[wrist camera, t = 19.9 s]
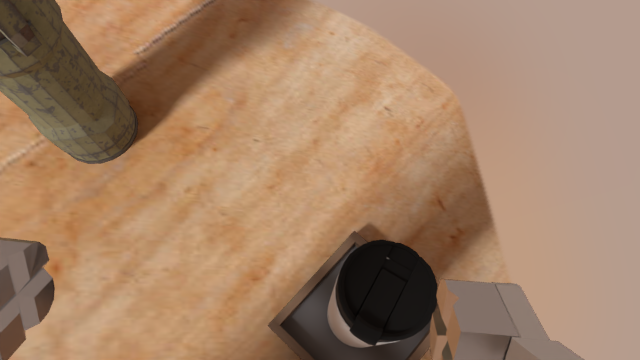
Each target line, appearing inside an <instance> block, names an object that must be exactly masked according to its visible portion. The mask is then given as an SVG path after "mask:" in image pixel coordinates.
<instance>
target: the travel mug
mask: <svg viewBox="0 0 640 360" xmlns="http://www.w3.org/2000/svg"><path fill="white" fill-rule="evenodd" d="M436 294H437V283H436V279H435V276H434V274H433V271H432V269H431V267H430V266H429V265H428V264H427V263H426V262H425V261H424V260H423V258H422V257H419V255H418V254H417V252H415V251H414V250H412V249H411V248H409V247H407V246H405V245H403V244H401V243H395V242H392V241H386V240H376V241H371V242H368V243H365V244H363V245H361V246H360V247H358V248H356V249H355V250H354V251H353V252H352V253H351V254H350V255H349V256H348V257H347V259H346V260H345V262H344V263H343V266H342V268H341V270H340V272H339V274H338V277H337V279H336V282H335V285H334V289H333V292H332V295H331V298H330V301H329V305H328V309H327V318H328V323H329V326H330V329H331V331H332V332H333V334H334V335H335V336H336V337H337V339H338V340H340V341H341V342H342V343H344V344H346V345H348V346H351V347H355V348H364V347H369V346H375V345H381V344H387V343H393V342H397V341H400V340H404V339H407V338H409V337H412V336H414V335H416V334H417V333H418V332H420V331H421V330H423V328H424V327H425V326H426V325H427V324H428V323H429V321H430V320H431V318H432V313H433V312H435V309H436V306H437V297H436Z"/></svg>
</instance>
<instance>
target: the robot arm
mask: <svg viewBox="0 0 640 360" xmlns="http://www.w3.org/2000/svg"><path fill="white" fill-rule="evenodd" d="M48 261H49V258H48V254H47V250H46V246H44V245H43V244H41V243H40V242H36V241H27V240H18V239H9V238H0V360H8V359H9V358H10V357H11V356H12V355H13V353H14V352H15V351H16V350H17V349H18V348H19V347H20V345H21V344H22V343H23V342H24V341H25V340H26V334H25V330H27V329H29V328H31V327H33V326H35V325H37V324H39V323H40V322H41V321H42V320H43V319H44V318H45V316H46V315H47V314H48V312H49V310H50V307H51V305H52V302H53V300H54V283H53V278H52V277H51V276H50V275H49V274H48V273H47V272H46V270H45V269H44V267H45V265H46V264H47V262H48ZM436 297H437V301H438V305H439V308H438V309H437V310H436V311H435V312H433V313H432V319H431V324H430V338H429V342H430V352H431V357H432V360H584V359H582V358H581V357H580V356H578V355H577V354H575V353H574V352H573V351H571V350H570V349H568V348H567V347H565V346H564V345H562V344H561V343H560V342H558V341H550V339H549V338H548V336H547V334H546V332H545V330H544V328H543V327H542V325H541V323H540V321H539V319H538V318H537V316H536V314H535V312H534V310H533V308H532V307H531V305H530V303H529V301H528V299H527V297H526V296H525V294H524V292H523V290H522V288H521V287H520V286H519V285H517V284H511V283H494V282H491V283H486V282H473V281H460V280H447V279H441V281H440V283H439V285H438V290H437V294H436Z"/></svg>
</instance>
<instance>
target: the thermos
mask: <svg viewBox="0 0 640 360" xmlns="http://www.w3.org/2000/svg"><path fill="white" fill-rule="evenodd" d="M0 91H1V92H2V93H3V94H4V95H5V96H7V97H8V98H9V99H10V100H11V101H13V102H14V103H15V104H16V105H17V106H18V107H20V108H21V109H22V110H23V111H24V112H25V113H27V114H28V116H29V119H30V120H31V121H32V122H33V124H34V125H35V126H36V127H37V129H38V130H39V131H40V132H41V134H43V135H44V136H45V137H46V138H48V139H49V140H50V141H51V142H52V143H54V144H55V145H56V146H57V147H59V148H60V149H62V150H63V151H64V152H67V153H68V154H69V155H71V156H72V157H74V158H75V159H76V160H78V161H81V162H85V163H88V164H95V163H104V162H107V161H110V160H113V159H115V158H117V157H118V156H120V155H121V154H123V153H124V152H125V151H126V150H127V149H128V148H129V147H130V146H131V144H132V143H133V141H134V138H135V136H136V134H137V127H138V121H137V117H136V113H135V112H134V111H133V109H132V108H131V106H130V105H129V101H128V100H127V98H126V97H125V96H124V94H123V93H122V91H121V90H120V89H119V87H118V86H117V84H116V83H115V82H114V80H113V79H112V78H111V77H109V76H108V75H106V74H105V73H103V72H101V71H100V70H99V69H98V67H97V66H96V65H95V63H94V62H93V61H92V59H91V58H90V57H89V55H88V54H87V53H86V51H85V50H84V49H83V47H82V46H81V45H80V43H79V42H78V41H77V39H76V38H75V37H74V35H73V34H72V32H71V31H70V30H69V28H68V27H67V26H66V24H65V23H64V22H63V19H62V14H61V9H60V7H59V5H58V4H57V3H56V1H55V0H0Z"/></svg>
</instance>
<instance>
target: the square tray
mask: <svg viewBox="0 0 640 360" xmlns="http://www.w3.org/2000/svg"><path fill="white" fill-rule="evenodd" d="M365 243H368V242H367V241H366V240H364V239H363V238H362V237H361V236H360V235H359V234H358V233H356V232H355V231H354V232H353V233H352V234H351V235H350V236H349V237H348V238H347V239H346V241H345V242H344V243H343V244H342V245H341V246H340V247H339V248H338V249H337V250H336V251H335V253H334V254H333V255H332V256H331V257H330V258H329V259H328V260H327V261H326V262H325V263H324V265H323V266H322V267H321V268H320V269H319V270H318V271H317V272H316V273H315V274H314V275H313V277H312V278H311V279H310V280H309V281H308V282H307V283H306V284H305V285H304V286H303V287H302V289H301V290H300V291H299V292H298V293H297V294H296V295H295V296H294V297H293V298H292V299H291V301H290V302H289V303H288V304H287V305H286V306H285V307H284V308H283V309H282V310H281V311H280V313H279V314H278V315H277V316H276V317H275V318H274V319H273V320H272V321H271V322H270V323H269V325H268V326H269V327H270V328H271V329H272V330H273V331H274V332H275V333H276V334H277V335H278V336H279V337H280V338H281V339H282V340H283V341H284V342H285V343H286V344H287V345H288V346H289V347H290V348H291V349H292V350H293V351H294V352H295V353H296V354H297V355H298V356H299V357H300V358H301V359H302V360H420V359H421V358H422V356H423V355H424V354H425V352H426V351H427V350H428V349H429V347H430V342H429V338H430V324H431V320H430V321H429V323H428V324H427V325H426V326H425V327H424V328H423V330H421V331H420V332H418V333H417V334H416V335H414V336H412V337H409V338H407V339H404V340H400V341H397V342H393V343H387V344H381V345H375V346H369V347H364V348H355V347H351V346H348V345H346V344H344V343H342V342H341V341H340V340H338V339H337V337H336V336H335V335H334V334H333V332H332V331H331V329H330V326H329V323H328V318H327V309H328V305H329V301H330V298H331V295H332V292H333V289H334V285H335V282H336V279H337V277H338V274H339V272H340V270H341V268H342V266H343V263H344V262H345V260H346V259H347V257H348V256H349V255H350V254H351V253H352V252H353V251H354V250H355V249H356V248H358V247H360V246H361V245H363V244H365ZM438 308H439V305H438V304H437V306H436V309H435V311H436V310H437V309H438ZM431 319H432V318H431Z"/></svg>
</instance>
